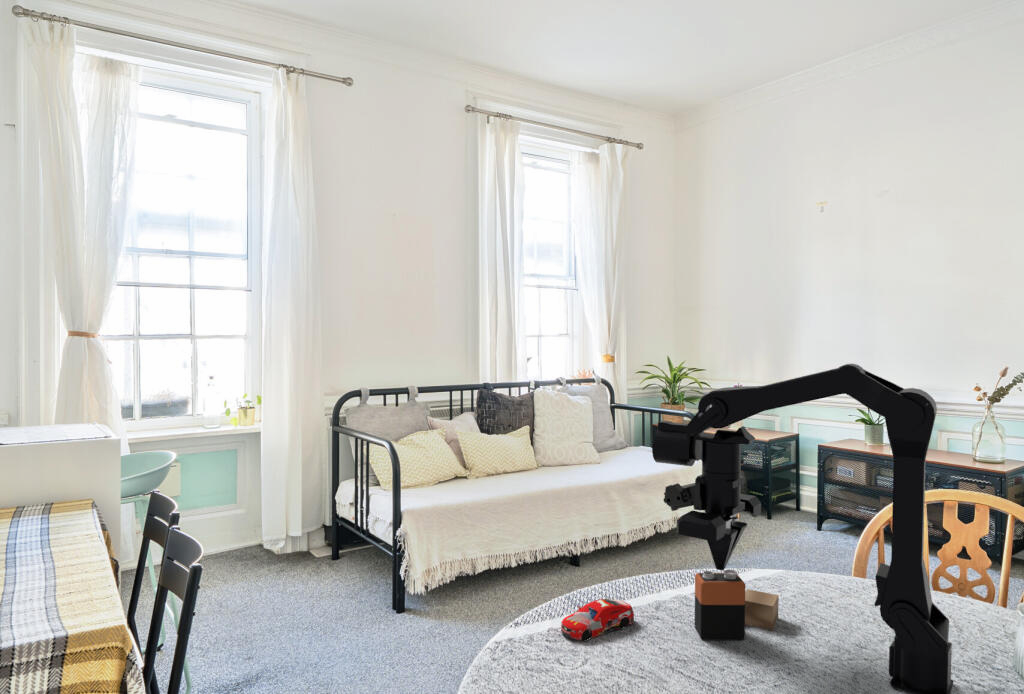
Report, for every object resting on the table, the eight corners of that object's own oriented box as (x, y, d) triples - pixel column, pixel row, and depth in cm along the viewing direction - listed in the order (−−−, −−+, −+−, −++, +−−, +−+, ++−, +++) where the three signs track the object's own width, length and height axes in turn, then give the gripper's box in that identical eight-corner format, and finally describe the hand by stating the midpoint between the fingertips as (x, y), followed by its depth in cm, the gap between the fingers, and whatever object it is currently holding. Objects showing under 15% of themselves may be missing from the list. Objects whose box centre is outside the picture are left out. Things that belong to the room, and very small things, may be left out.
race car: (574, 647, 103) (574, 621, 103) (553, 633, 108) (553, 608, 108) (639, 625, 111) (640, 601, 110) (617, 613, 115) (617, 590, 115)
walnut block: (778, 619, 113) (778, 595, 112) (772, 631, 108) (773, 606, 108) (746, 612, 115) (747, 589, 115) (740, 623, 111) (740, 599, 111)
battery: (745, 641, 105) (746, 577, 104) (701, 641, 105) (701, 577, 104) (736, 628, 109) (737, 566, 108) (693, 628, 109) (694, 566, 109)
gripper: (698, 454, 118) (697, 543, 119) (644, 473, 104) (644, 574, 104) (762, 462, 111) (761, 557, 111) (715, 484, 97) (714, 593, 97)
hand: (720, 569), depth 106 cm, fingers closed
